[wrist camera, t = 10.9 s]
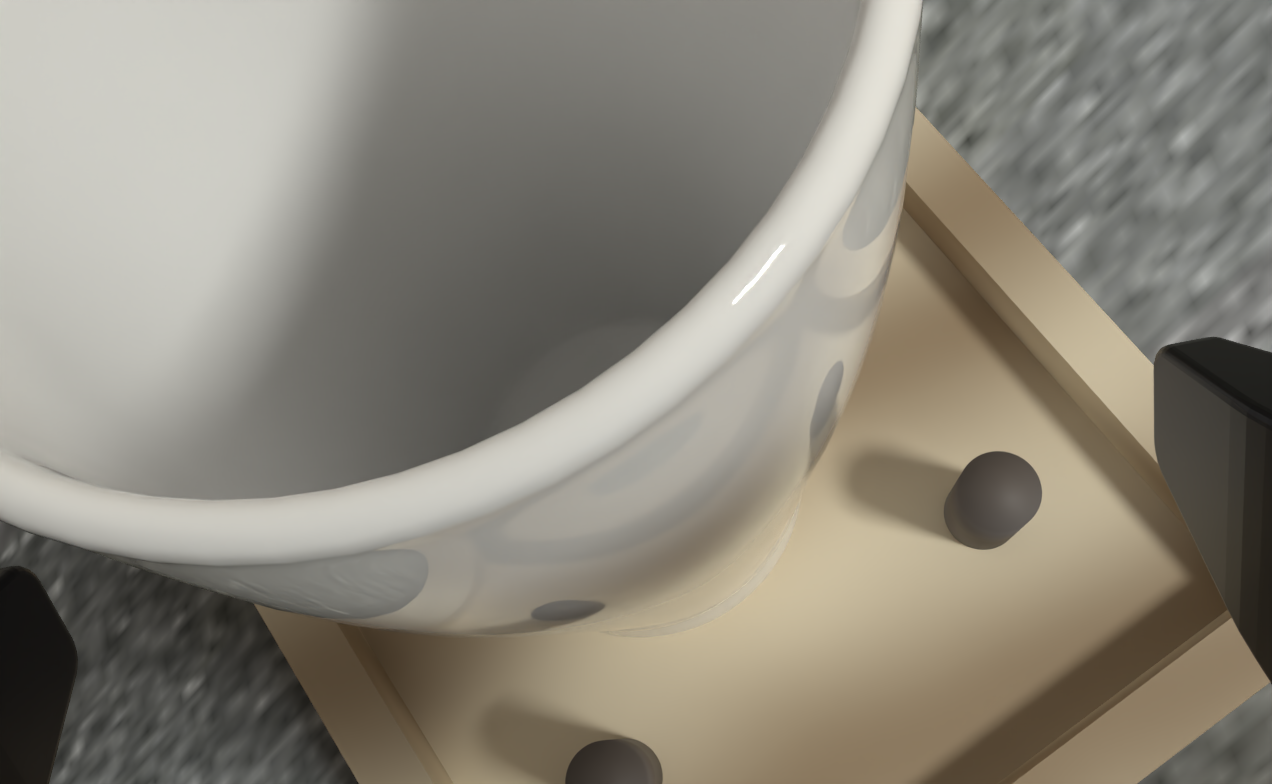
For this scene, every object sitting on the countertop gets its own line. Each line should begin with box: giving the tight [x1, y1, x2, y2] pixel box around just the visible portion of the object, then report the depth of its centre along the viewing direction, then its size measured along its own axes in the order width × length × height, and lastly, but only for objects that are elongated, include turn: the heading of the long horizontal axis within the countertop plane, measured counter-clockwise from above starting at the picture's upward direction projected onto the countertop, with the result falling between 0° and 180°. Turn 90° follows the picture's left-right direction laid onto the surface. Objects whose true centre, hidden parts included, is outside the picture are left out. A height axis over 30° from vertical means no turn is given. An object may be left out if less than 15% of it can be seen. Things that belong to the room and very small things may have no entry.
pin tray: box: [254, 107, 1270, 784], centre depth 20 cm, size 16×14×3 cm
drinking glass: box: [0, 0, 923, 638], centre depth 13 cm, size 7×7×15 cm
